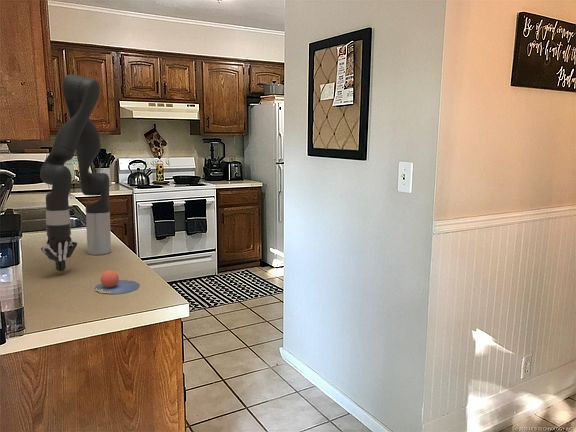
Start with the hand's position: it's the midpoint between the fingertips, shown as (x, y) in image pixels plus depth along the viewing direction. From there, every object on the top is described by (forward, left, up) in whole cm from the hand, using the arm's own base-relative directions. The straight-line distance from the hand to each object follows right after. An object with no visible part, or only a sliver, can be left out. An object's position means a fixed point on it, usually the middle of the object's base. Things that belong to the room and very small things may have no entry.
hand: (61, 270), depth 168 cm
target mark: (+19, +19, -2) cm, 27 cm away
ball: (+18, +17, +1) cm, 25 cm away
